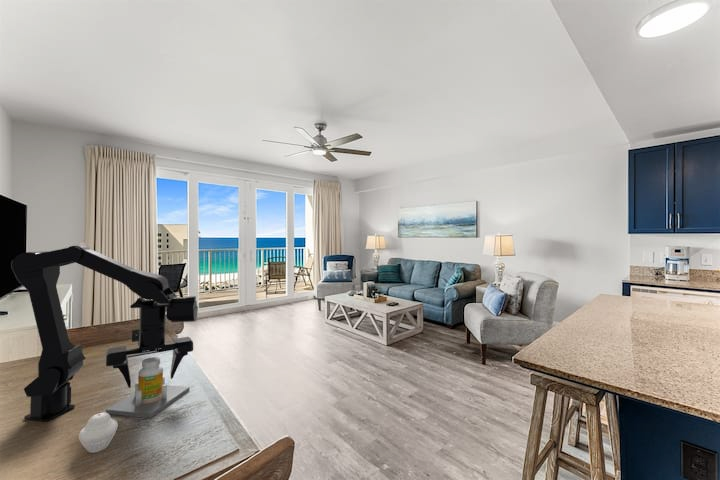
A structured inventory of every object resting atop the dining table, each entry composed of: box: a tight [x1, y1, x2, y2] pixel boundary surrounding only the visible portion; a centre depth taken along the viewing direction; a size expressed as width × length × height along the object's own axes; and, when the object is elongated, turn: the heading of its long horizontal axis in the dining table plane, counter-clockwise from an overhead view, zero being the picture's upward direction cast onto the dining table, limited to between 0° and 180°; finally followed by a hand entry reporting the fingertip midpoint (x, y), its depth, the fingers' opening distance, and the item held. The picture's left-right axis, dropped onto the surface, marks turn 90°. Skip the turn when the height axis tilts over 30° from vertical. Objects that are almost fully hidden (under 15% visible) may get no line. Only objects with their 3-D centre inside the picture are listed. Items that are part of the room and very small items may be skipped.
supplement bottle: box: [137, 356, 164, 401], centre depth 82 cm, size 5×5×10 cm
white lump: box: [78, 412, 119, 454], centre depth 64 cm, size 6×6×7 cm
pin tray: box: [105, 376, 190, 419], centre depth 82 cm, size 14×12×4 cm
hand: (151, 382), depth 82 cm, fingers open, 9 cm apart
